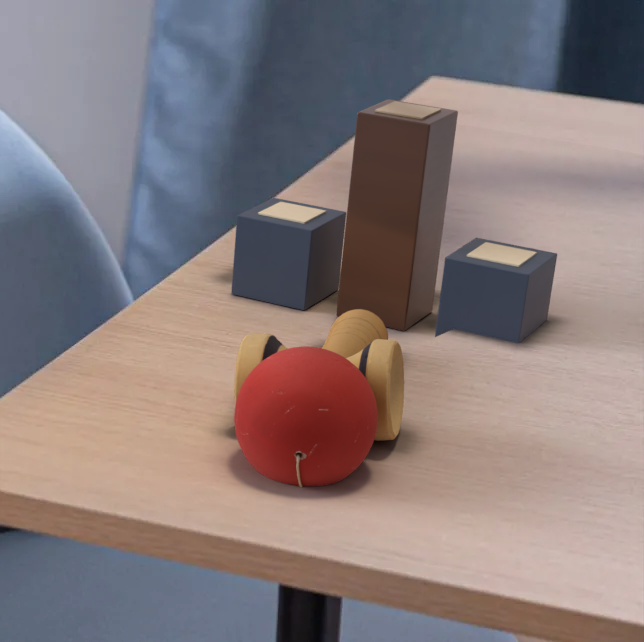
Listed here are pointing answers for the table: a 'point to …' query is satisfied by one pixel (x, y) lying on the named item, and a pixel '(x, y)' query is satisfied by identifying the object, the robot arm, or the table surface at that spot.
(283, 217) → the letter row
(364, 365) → the kendama
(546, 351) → the table surface
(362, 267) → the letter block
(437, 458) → the table surface
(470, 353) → the table surface
